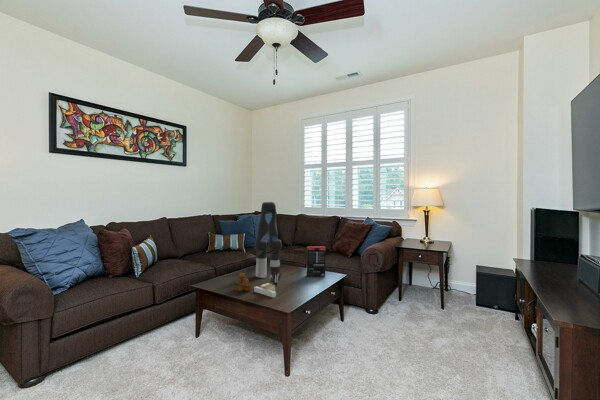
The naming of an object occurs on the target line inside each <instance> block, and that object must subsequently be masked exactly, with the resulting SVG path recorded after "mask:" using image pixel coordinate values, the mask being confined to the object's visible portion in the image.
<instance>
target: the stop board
mask: <svg viewBox="0 0 600 400" xmlns="http://www.w3.org/2000/svg"><path fill="white" fill-rule="evenodd" d="M253 290H254V292H255V293H258V294H260V295H263V296H267V297H270V298H275V297H277V291H276V290H275V291H271V290H268V289H264V288H261V287H260V286H256V285H255V286H254V287H253Z"/></svg>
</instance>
